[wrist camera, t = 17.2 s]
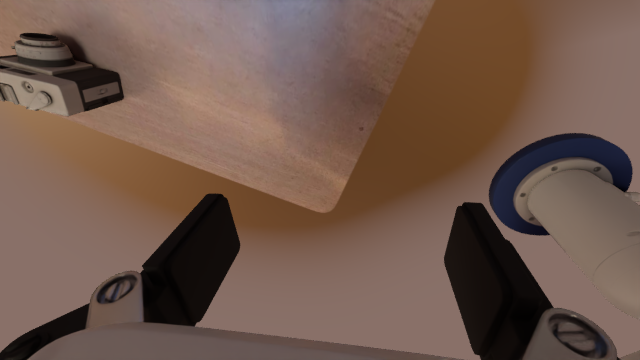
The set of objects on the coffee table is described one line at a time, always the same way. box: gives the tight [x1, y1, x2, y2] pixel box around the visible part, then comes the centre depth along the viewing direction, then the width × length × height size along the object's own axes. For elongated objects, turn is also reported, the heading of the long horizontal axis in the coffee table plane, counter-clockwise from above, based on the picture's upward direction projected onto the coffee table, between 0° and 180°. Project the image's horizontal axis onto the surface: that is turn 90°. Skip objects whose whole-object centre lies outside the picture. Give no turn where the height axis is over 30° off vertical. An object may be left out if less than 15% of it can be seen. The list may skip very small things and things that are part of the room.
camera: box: [0, 33, 123, 116], centre depth 37 cm, size 14×8×10 cm, turn 79°
